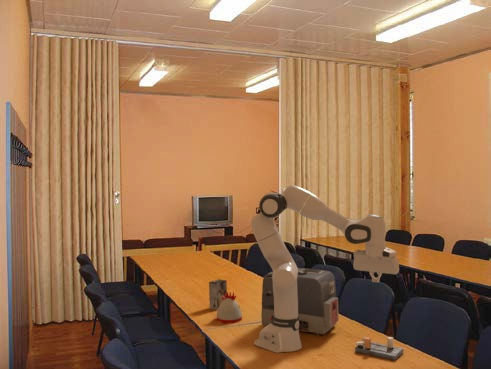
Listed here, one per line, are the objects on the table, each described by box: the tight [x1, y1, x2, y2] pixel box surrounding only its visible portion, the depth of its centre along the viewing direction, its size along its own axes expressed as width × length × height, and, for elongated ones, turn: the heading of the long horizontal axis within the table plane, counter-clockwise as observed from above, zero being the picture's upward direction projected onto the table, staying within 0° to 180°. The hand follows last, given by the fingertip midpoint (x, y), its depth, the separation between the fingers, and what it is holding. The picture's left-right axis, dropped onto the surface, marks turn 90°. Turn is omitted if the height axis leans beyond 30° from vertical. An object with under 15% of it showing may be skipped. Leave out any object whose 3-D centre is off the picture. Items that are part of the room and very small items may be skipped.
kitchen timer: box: [216, 291, 243, 324], centre depth 274 cm, size 14×14×15 cm
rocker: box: [354, 340, 365, 346], centre depth 224 cm, size 4×2×1 cm, turn 54°
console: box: [354, 341, 404, 361], centre depth 222 cm, size 18×11×3 cm, turn 54°
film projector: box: [260, 267, 340, 337], centre depth 258 cm, size 39×29×30 cm
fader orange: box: [365, 336, 372, 348], centre depth 222 cm, size 2×2×4 cm
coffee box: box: [208, 279, 228, 311], centre depth 297 cm, size 9×6×16 cm
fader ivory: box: [386, 336, 394, 348], centre depth 222 cm, size 2×2×4 cm
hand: (375, 281), depth 224 cm, fingers closed
